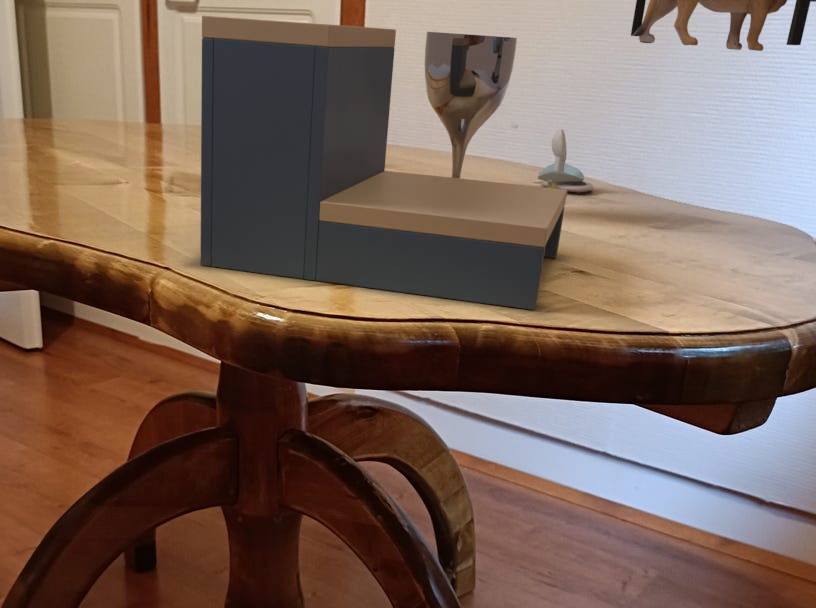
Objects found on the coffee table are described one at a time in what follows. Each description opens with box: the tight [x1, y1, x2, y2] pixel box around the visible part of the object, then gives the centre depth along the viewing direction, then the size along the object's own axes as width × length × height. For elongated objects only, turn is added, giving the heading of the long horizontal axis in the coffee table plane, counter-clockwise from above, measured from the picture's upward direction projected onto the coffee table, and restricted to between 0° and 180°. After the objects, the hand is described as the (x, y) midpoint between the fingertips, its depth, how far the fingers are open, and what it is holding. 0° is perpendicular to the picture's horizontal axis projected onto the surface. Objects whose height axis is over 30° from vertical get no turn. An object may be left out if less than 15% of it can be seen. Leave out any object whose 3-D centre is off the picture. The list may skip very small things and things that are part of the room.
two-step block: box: [200, 15, 568, 311], centre depth 65 cm, size 22×17×15 cm
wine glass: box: [423, 31, 518, 179], centre depth 87 cm, size 8×8×15 cm
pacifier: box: [537, 129, 594, 193], centre depth 105 cm, size 7×6×6 cm
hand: (712, 40), depth 82 cm, fingers closed on lion figurine, 12 cm apart
